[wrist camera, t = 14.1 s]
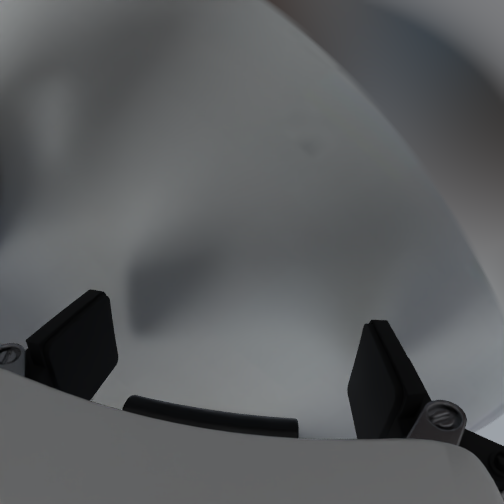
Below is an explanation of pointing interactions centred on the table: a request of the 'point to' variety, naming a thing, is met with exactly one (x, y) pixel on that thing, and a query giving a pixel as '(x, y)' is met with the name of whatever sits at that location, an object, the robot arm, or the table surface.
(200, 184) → the table surface
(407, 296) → the table surface
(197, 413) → the door handle
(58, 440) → the robot arm
